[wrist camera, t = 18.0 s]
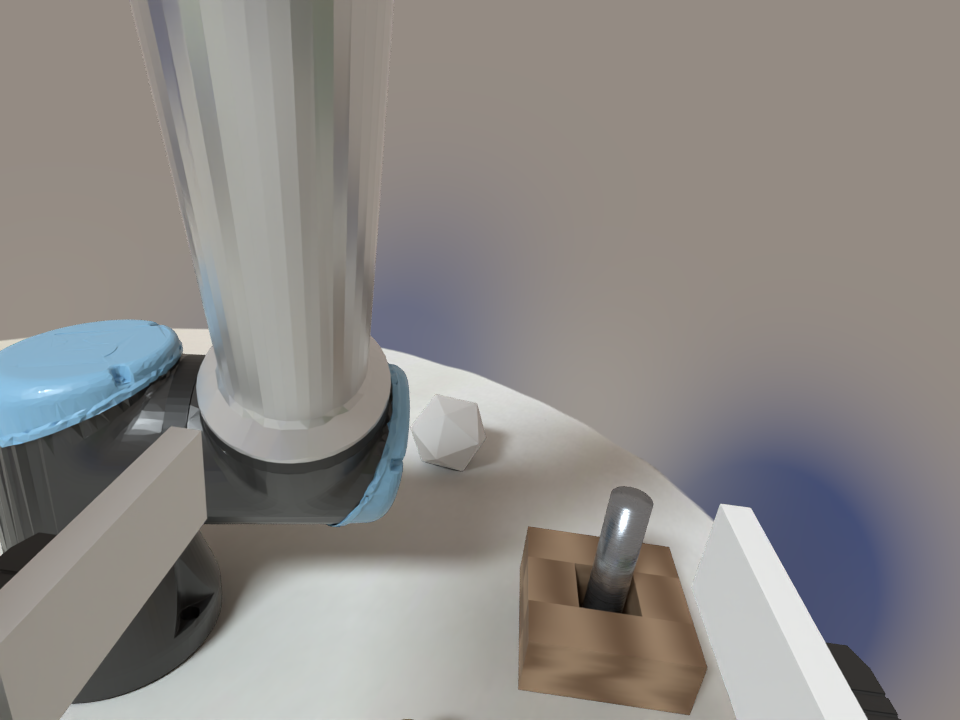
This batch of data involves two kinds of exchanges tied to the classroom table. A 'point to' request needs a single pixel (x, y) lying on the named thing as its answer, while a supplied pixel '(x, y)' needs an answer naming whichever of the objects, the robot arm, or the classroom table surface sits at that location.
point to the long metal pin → (618, 549)
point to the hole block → (605, 629)
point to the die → (448, 432)
